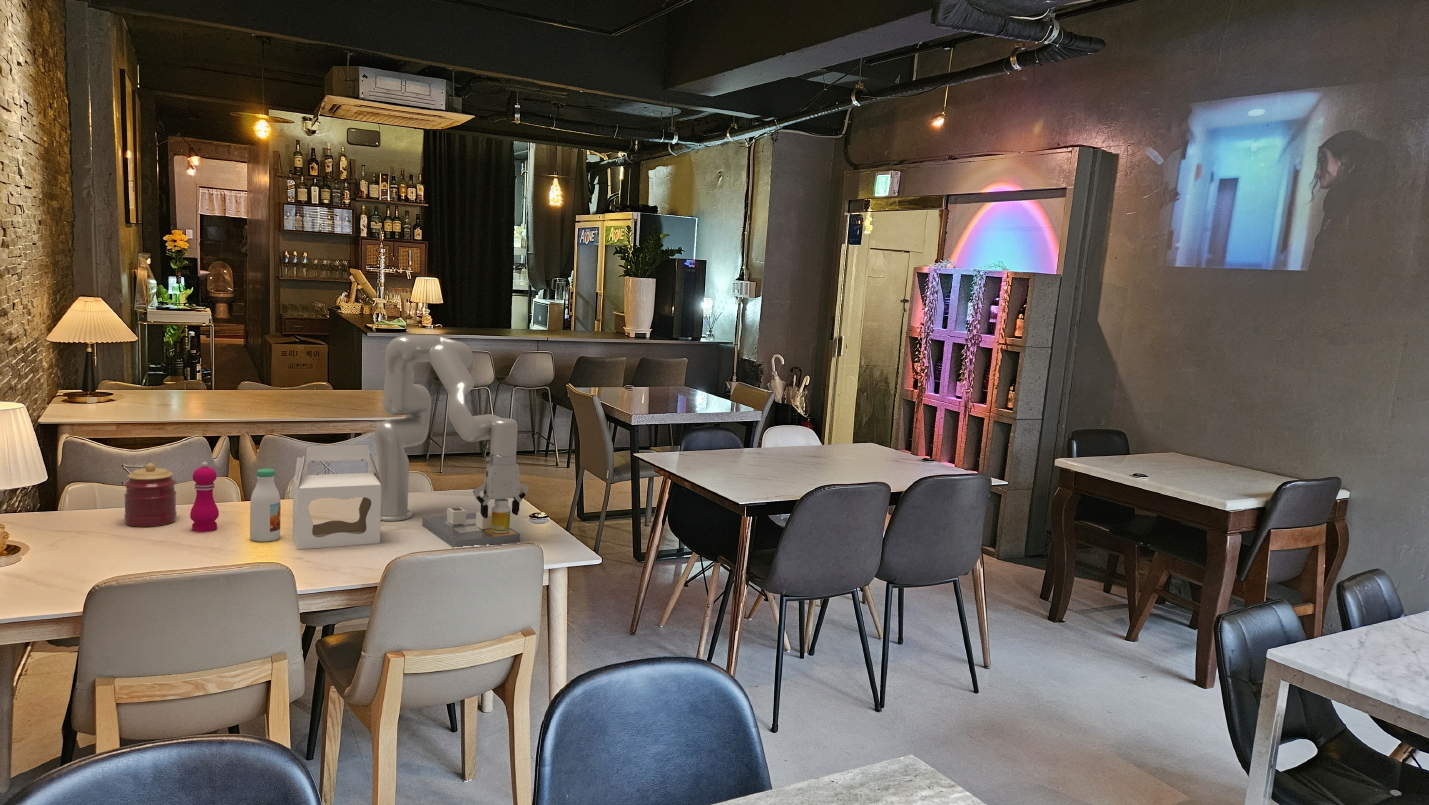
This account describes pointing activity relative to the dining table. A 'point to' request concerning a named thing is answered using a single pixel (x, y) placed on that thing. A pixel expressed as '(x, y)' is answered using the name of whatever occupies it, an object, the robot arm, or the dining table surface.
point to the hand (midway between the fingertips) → (499, 515)
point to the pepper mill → (204, 500)
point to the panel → (467, 532)
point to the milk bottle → (265, 508)
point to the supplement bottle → (500, 516)
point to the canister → (150, 497)
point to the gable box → (337, 488)
